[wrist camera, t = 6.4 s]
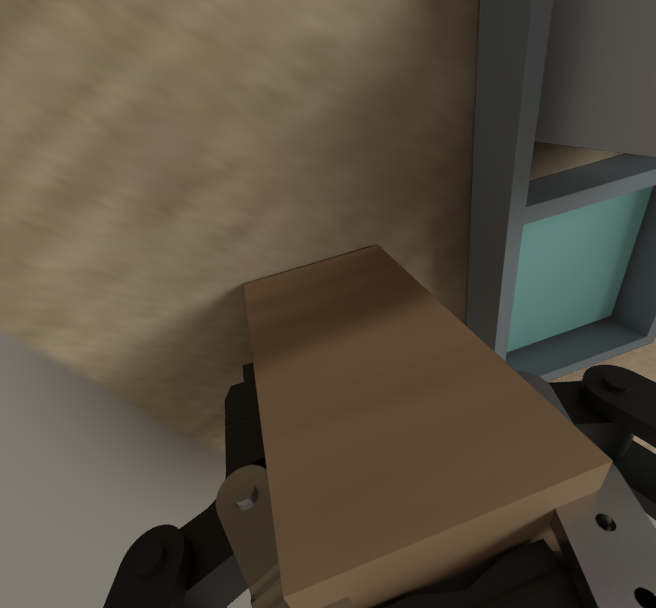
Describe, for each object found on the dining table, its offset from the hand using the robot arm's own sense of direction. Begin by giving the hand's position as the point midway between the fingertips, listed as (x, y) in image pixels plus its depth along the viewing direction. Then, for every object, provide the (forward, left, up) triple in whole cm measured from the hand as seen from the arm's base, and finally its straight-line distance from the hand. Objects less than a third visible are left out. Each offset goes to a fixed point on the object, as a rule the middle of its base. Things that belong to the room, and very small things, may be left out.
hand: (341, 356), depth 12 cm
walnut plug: (0, 0, -2) cm, 2 cm away
